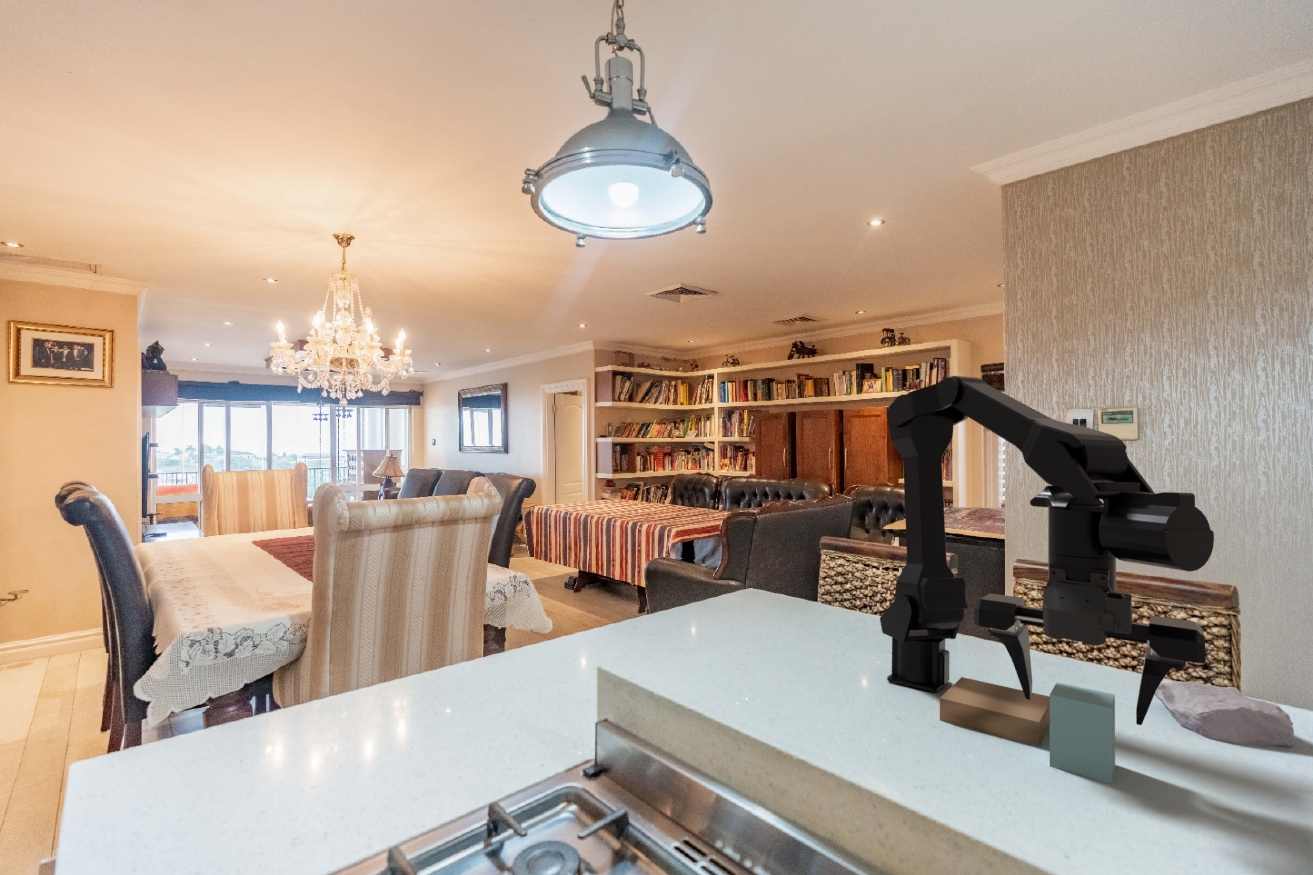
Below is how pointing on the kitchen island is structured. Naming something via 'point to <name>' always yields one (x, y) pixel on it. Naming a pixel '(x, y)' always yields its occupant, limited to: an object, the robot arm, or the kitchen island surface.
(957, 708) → the walnut base block
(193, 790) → the kitchen island surface
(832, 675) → the kitchen island surface
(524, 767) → the kitchen island surface
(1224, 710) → the stone block
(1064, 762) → the teal block
